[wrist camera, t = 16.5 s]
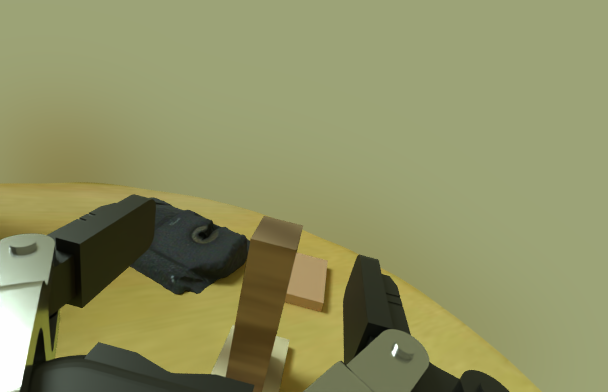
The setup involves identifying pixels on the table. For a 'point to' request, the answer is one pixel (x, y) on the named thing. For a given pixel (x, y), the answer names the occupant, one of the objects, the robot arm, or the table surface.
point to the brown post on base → (261, 309)
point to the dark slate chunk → (190, 250)
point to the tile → (307, 282)
